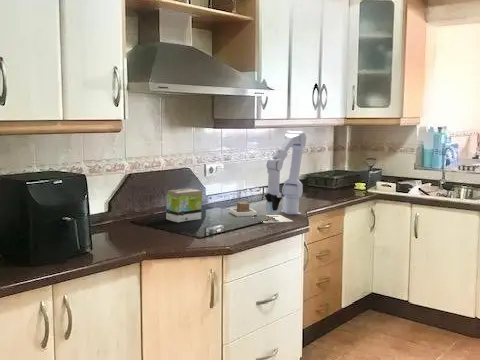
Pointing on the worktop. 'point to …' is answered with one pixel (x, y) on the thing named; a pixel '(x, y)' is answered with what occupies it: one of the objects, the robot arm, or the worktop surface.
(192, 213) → the tea box
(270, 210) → the blue cube
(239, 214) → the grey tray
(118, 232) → the worktop surface
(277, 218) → the letter board
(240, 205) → the walnut block
